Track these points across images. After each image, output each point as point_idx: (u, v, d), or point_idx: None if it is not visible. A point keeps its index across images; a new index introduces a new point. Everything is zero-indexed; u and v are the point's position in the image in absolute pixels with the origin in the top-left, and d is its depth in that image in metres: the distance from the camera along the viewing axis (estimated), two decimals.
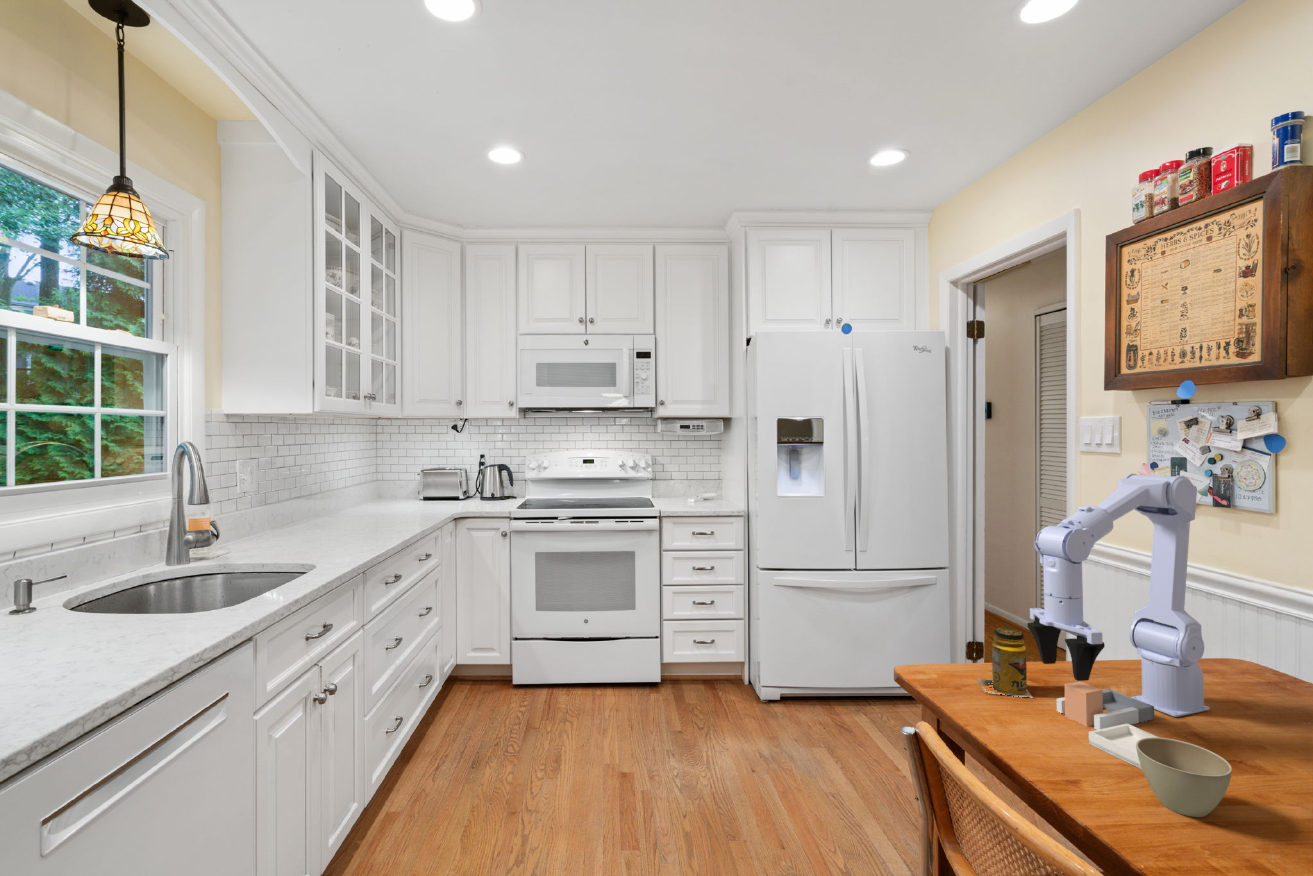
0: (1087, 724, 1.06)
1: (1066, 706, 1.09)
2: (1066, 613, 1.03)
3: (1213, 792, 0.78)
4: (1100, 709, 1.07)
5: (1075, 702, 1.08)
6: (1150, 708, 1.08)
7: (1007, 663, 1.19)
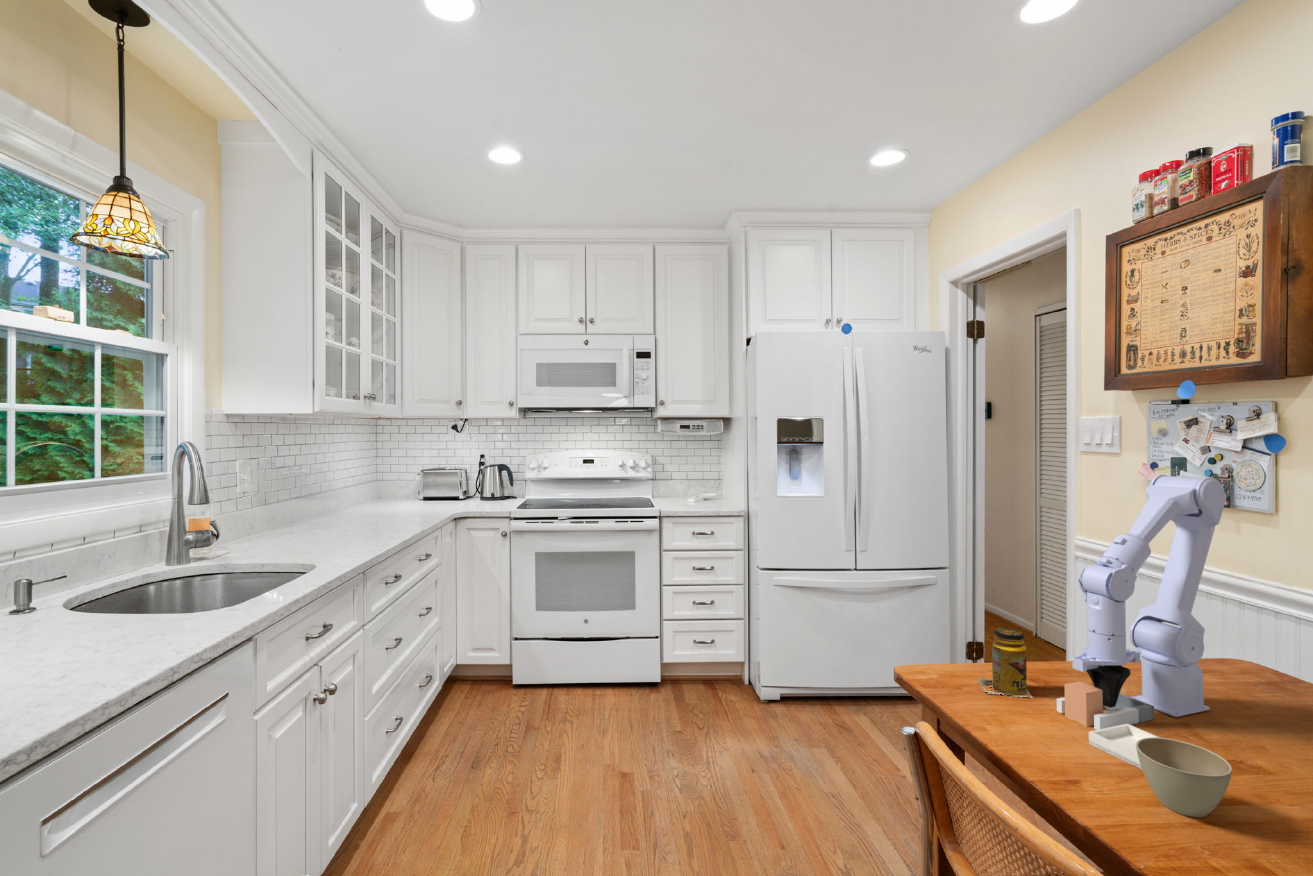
0: (1087, 724, 1.06)
1: (1066, 706, 1.09)
2: (1089, 644, 1.11)
3: (1213, 792, 0.78)
4: (1100, 709, 1.07)
5: (1075, 702, 1.08)
6: (1150, 708, 1.08)
7: (1007, 663, 1.19)
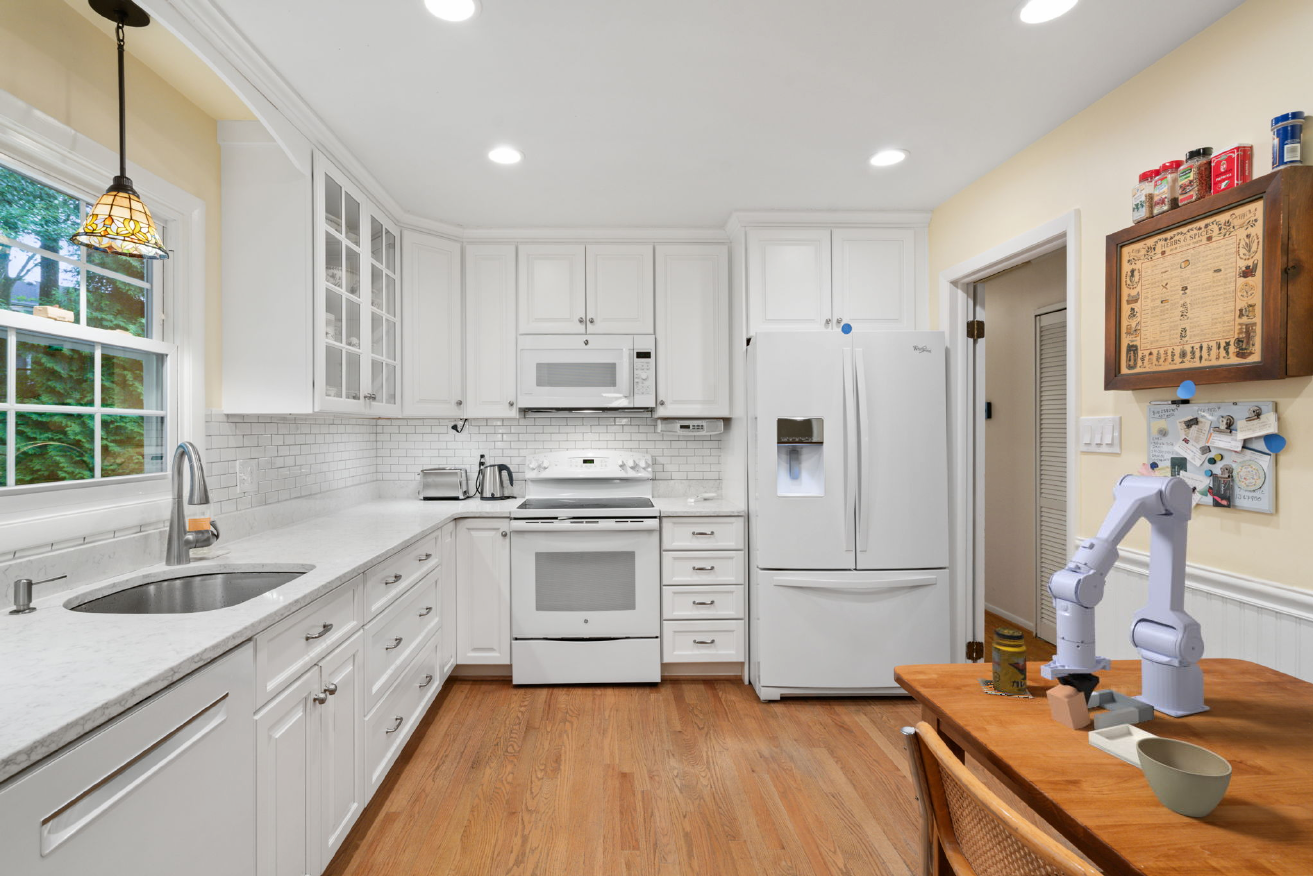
0: None
1: (1052, 712, 1.08)
2: (1058, 651, 1.08)
3: (1213, 792, 0.78)
4: (1085, 711, 1.06)
5: (1059, 709, 1.06)
6: (1150, 708, 1.08)
7: (1007, 663, 1.19)
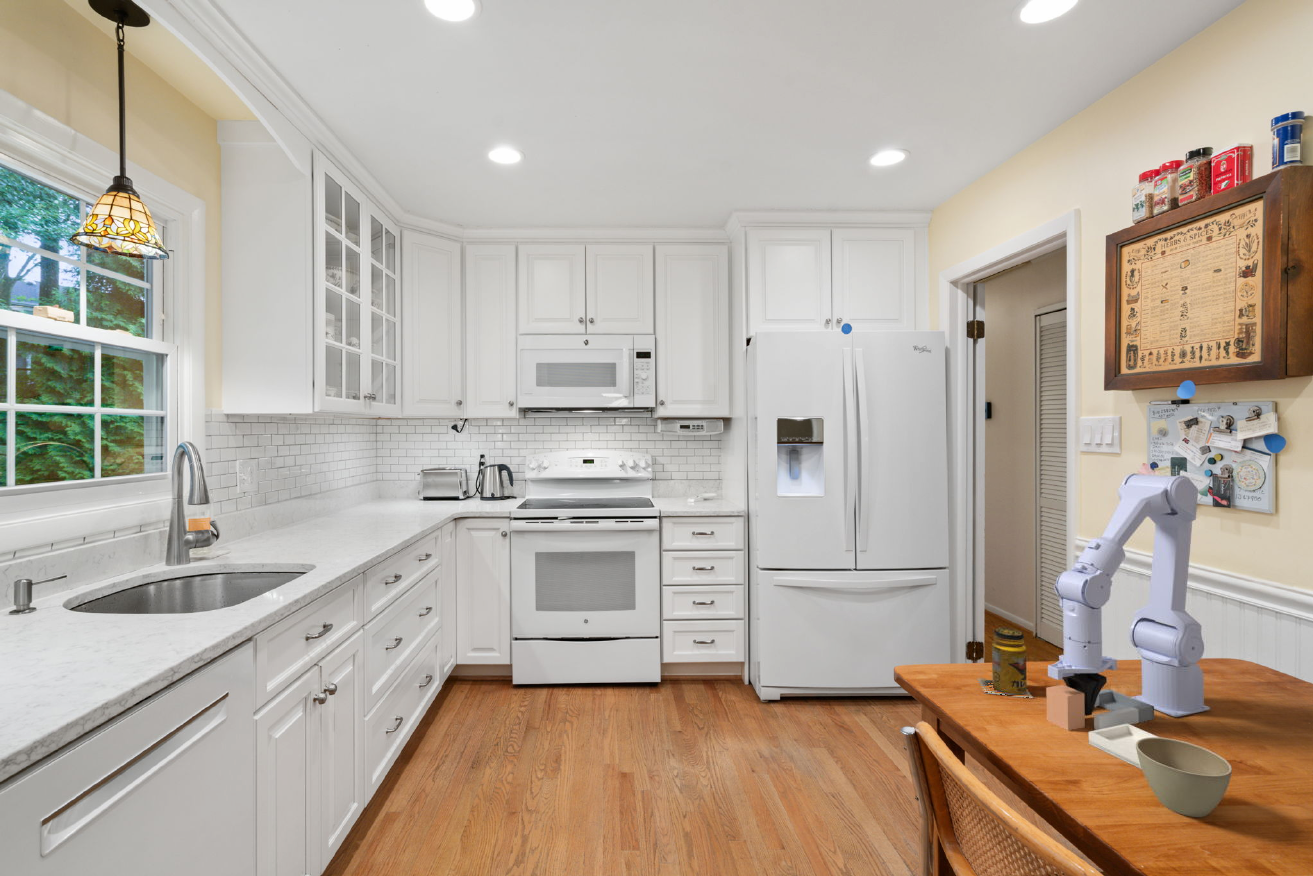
0: (1069, 728, 1.04)
1: (1048, 710, 1.08)
2: (1065, 651, 1.09)
3: (1213, 792, 0.78)
4: (1082, 713, 1.05)
5: (1057, 706, 1.06)
6: (1150, 708, 1.08)
7: (1007, 663, 1.19)
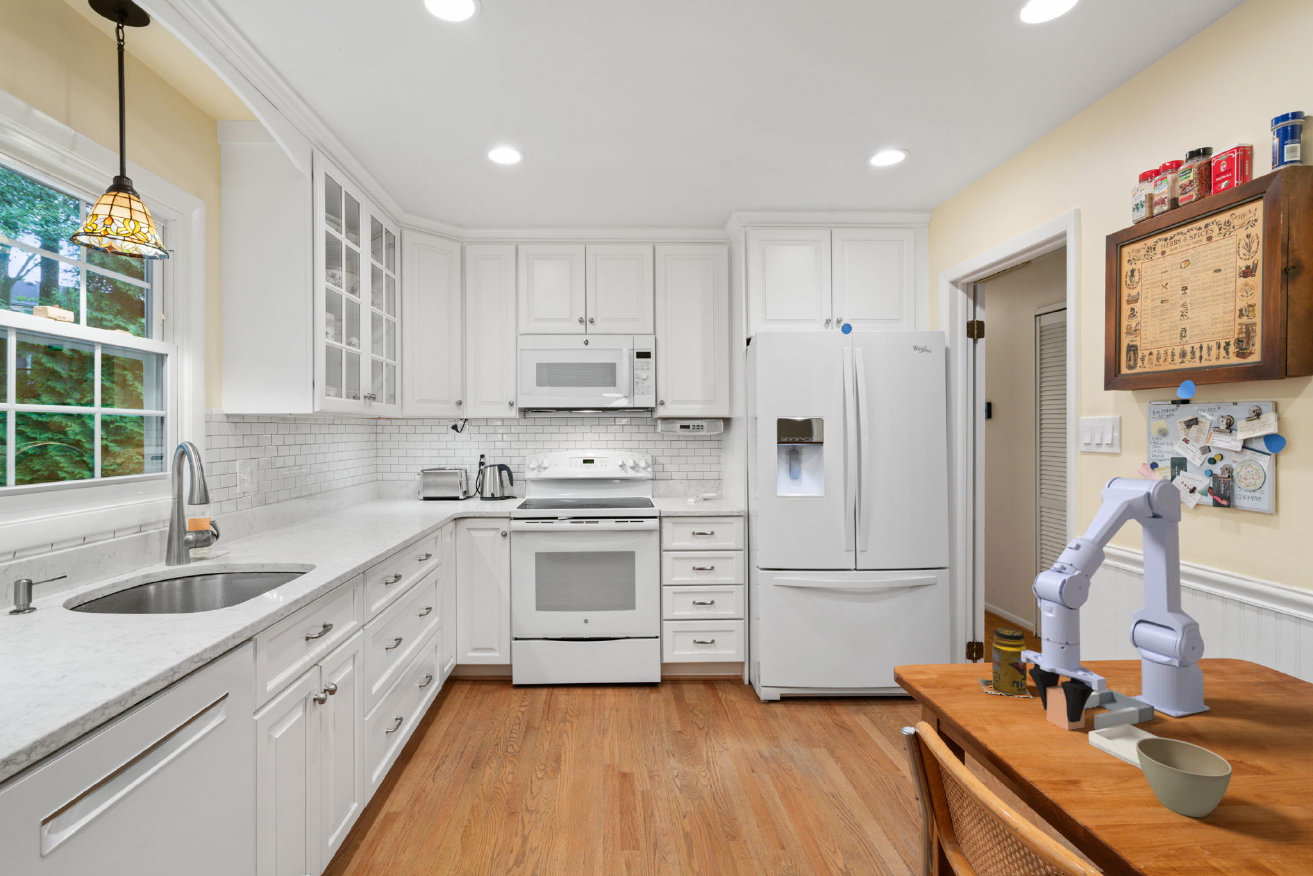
0: (1069, 728, 1.04)
1: (1048, 709, 1.08)
2: (1068, 659, 1.04)
3: (1213, 792, 0.78)
4: (1082, 713, 1.05)
5: (1057, 706, 1.06)
6: (1150, 708, 1.08)
7: (1007, 663, 1.19)
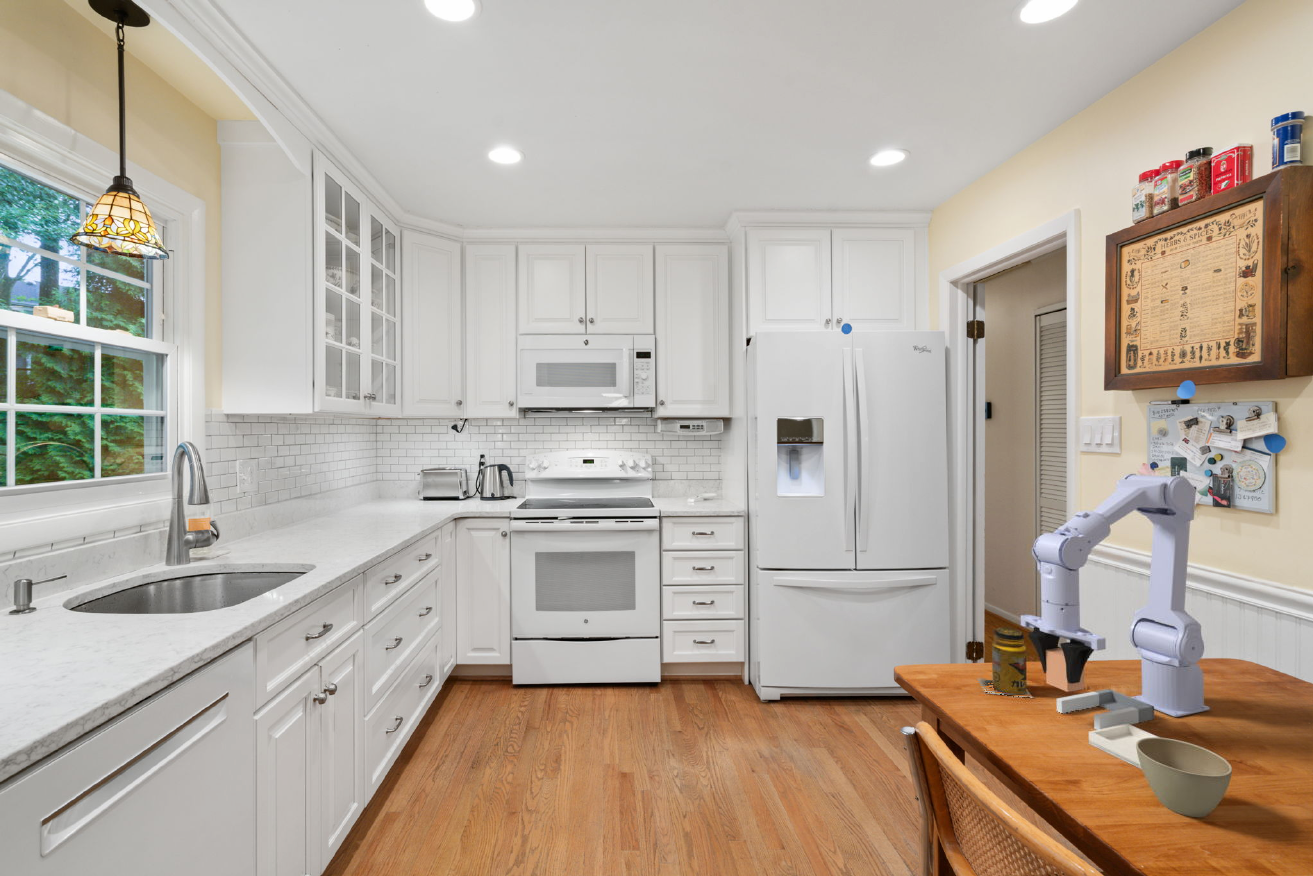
0: (1068, 689, 1.04)
1: (1047, 672, 1.08)
2: (1067, 620, 1.04)
3: (1213, 792, 0.78)
4: None
5: (1056, 668, 1.06)
6: (1150, 708, 1.08)
7: (1007, 663, 1.19)
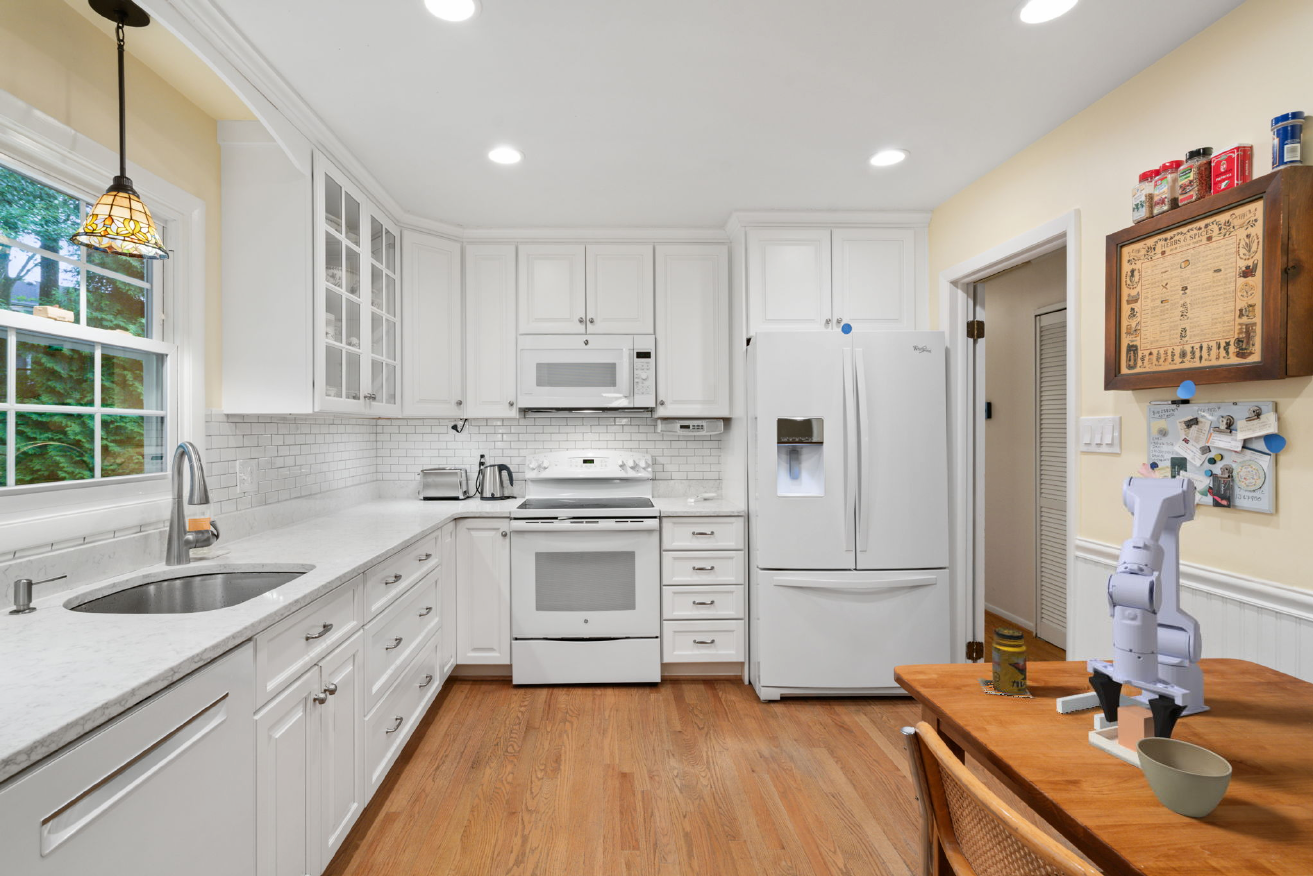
0: None
1: (1120, 732, 0.98)
2: (1145, 670, 0.94)
3: (1213, 792, 0.78)
4: None
5: (1131, 728, 0.96)
6: (1150, 708, 1.08)
7: (1007, 663, 1.19)
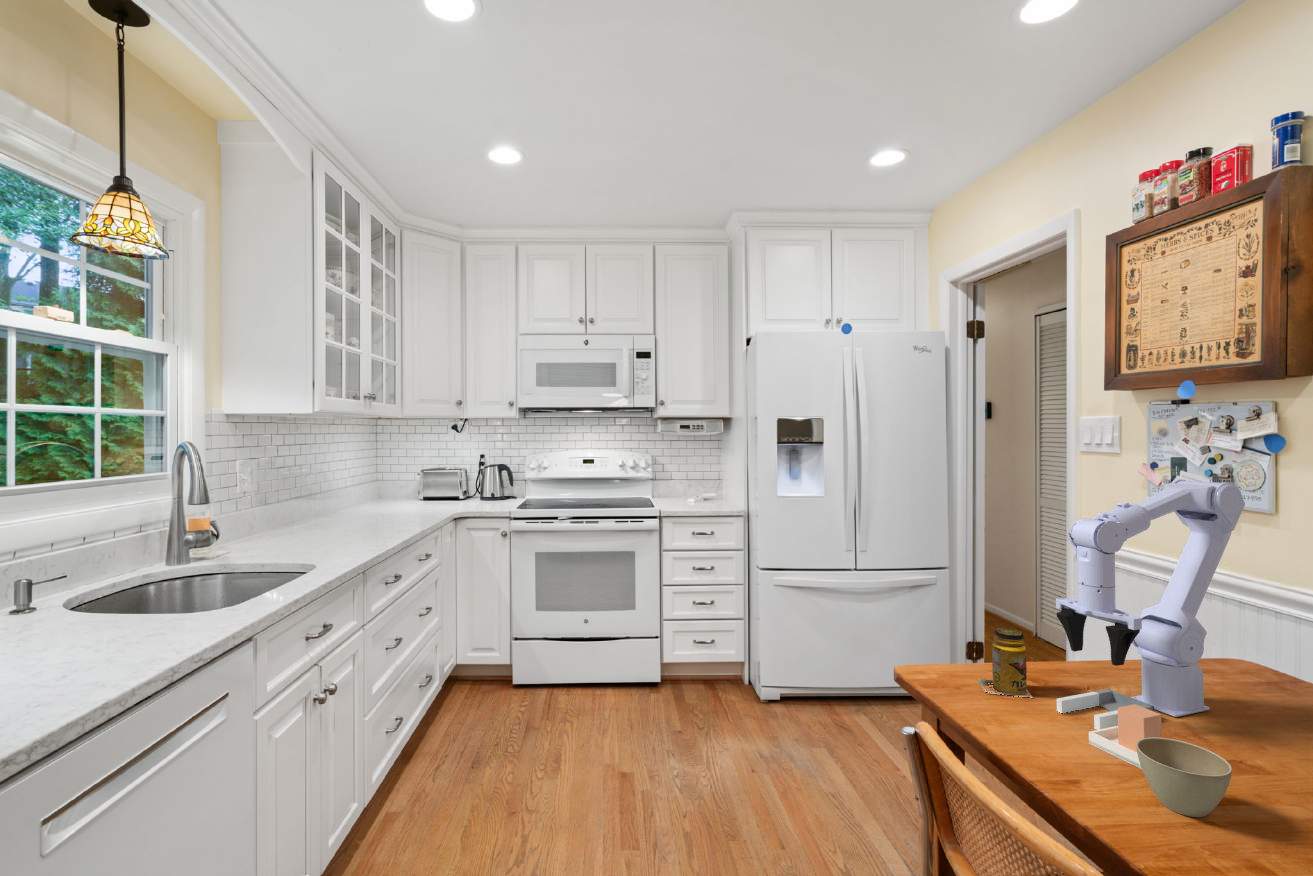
0: None
1: (1120, 732, 0.98)
2: (1103, 601, 1.08)
3: (1213, 792, 0.78)
4: (1159, 736, 0.96)
5: (1131, 728, 0.96)
6: (1150, 708, 1.08)
7: (1007, 663, 1.19)
